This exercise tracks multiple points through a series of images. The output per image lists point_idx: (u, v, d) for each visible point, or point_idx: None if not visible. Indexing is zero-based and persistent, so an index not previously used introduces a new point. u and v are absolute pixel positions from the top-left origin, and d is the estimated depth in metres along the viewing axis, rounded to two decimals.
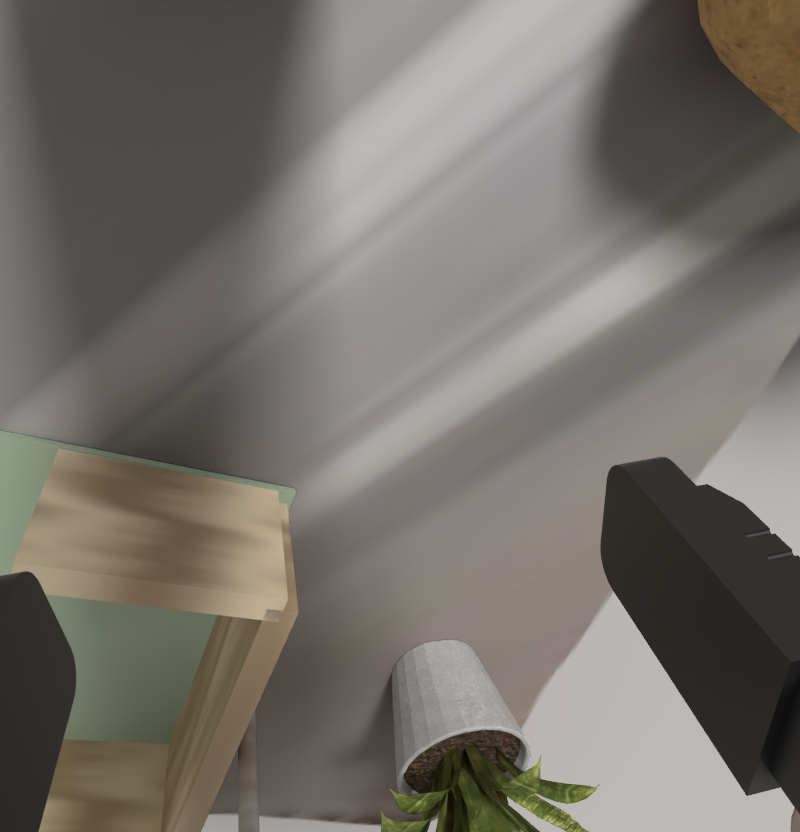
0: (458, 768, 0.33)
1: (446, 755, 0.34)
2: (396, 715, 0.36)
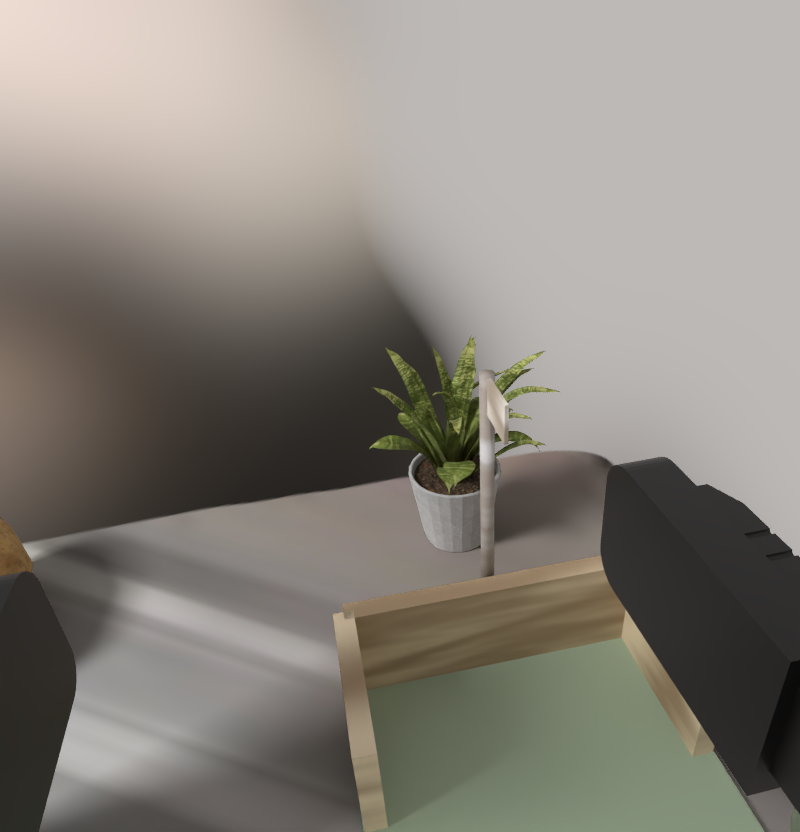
0: None
1: None
2: (469, 524, 0.50)
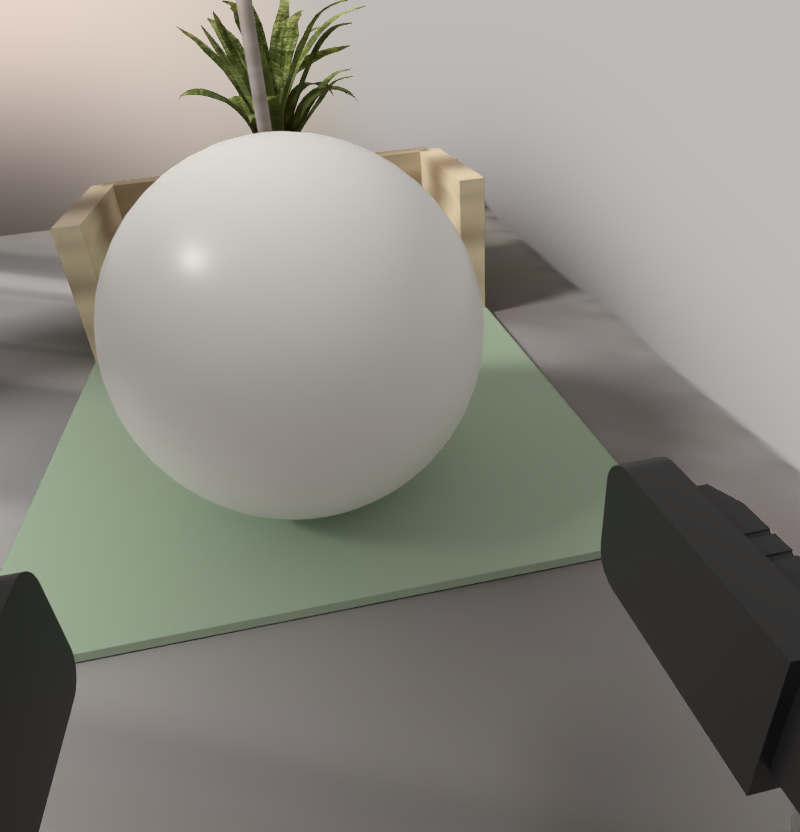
0: None
1: None
2: None
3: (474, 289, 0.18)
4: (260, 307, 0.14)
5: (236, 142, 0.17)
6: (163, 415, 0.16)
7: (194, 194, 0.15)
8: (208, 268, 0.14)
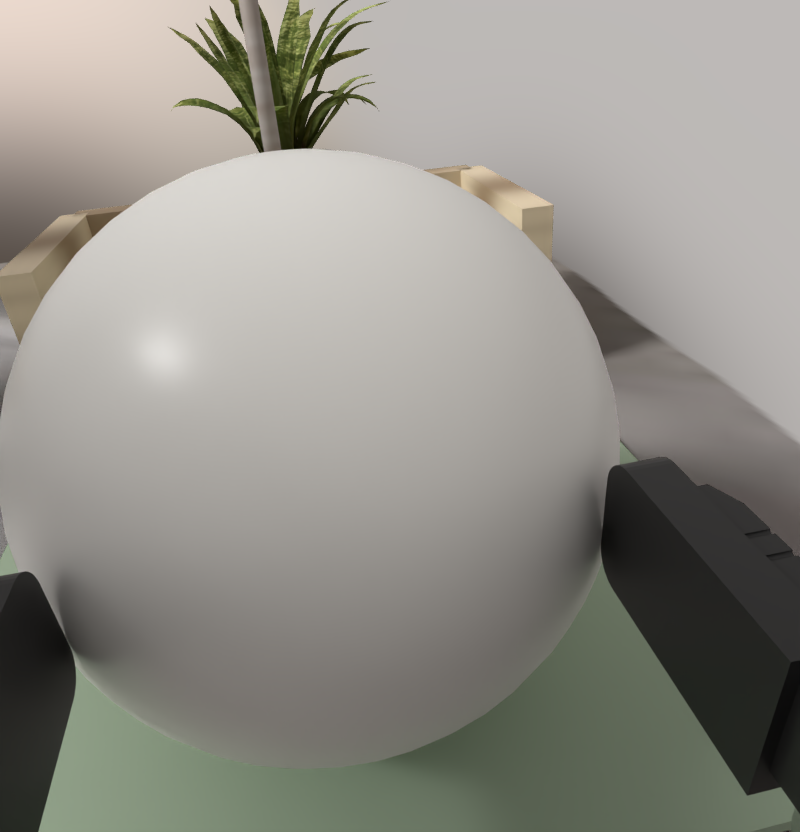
0: None
1: None
2: None
3: (613, 395, 0.11)
4: (270, 468, 0.08)
5: (229, 166, 0.10)
6: (96, 643, 0.09)
7: (153, 254, 0.09)
8: (173, 393, 0.08)
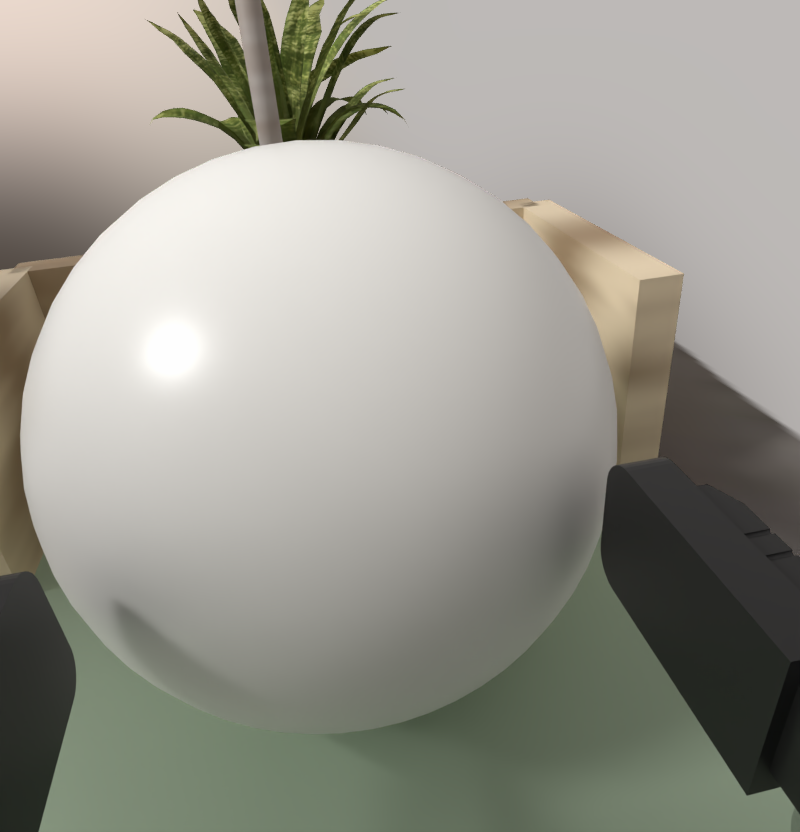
0: None
1: None
2: None
3: None
4: None
5: None
6: None
7: None
8: None
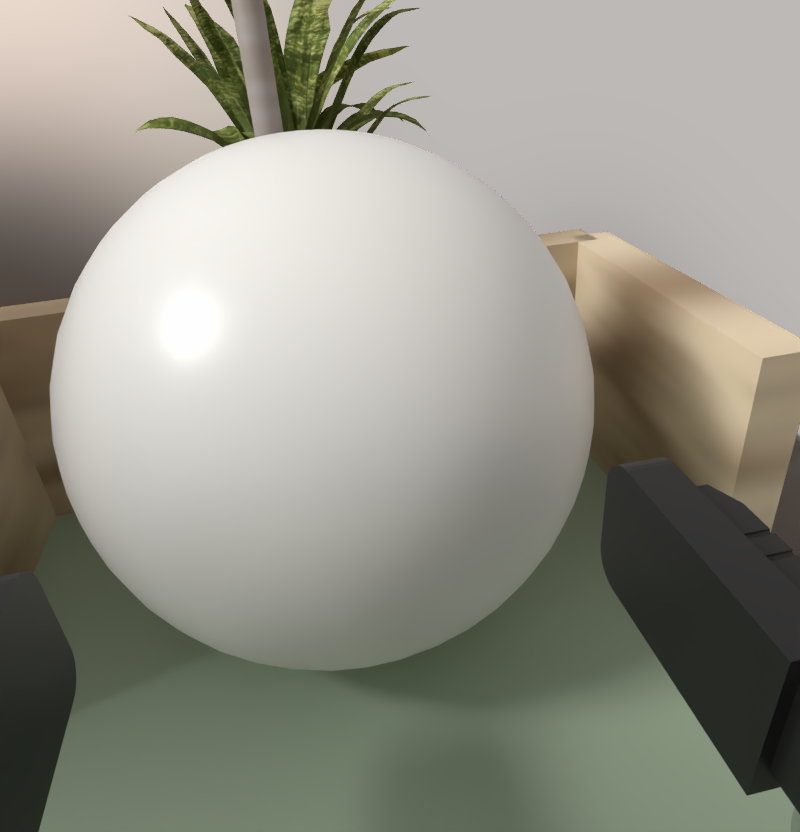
0: None
1: None
2: None
3: None
4: None
5: None
6: None
7: None
8: None
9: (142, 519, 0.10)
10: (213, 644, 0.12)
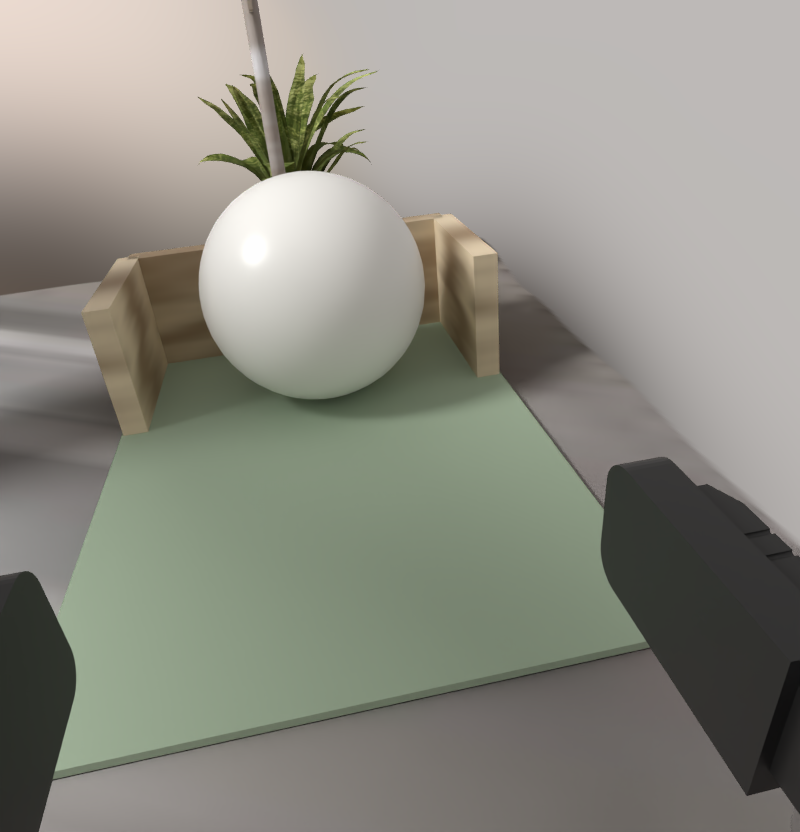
0: None
1: None
2: None
3: None
4: None
5: None
6: None
7: None
8: None
9: (246, 325, 0.29)
10: (264, 379, 0.31)
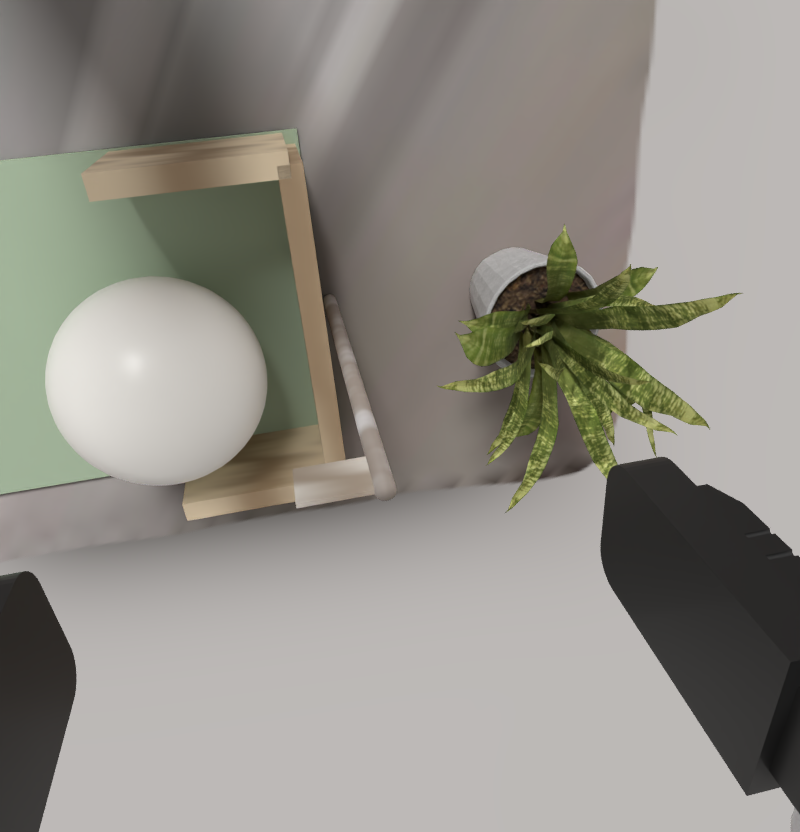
0: (529, 310, 0.36)
1: None
2: (476, 314, 0.40)
3: None
4: (261, 370, 0.35)
5: None
6: (212, 348, 0.32)
7: None
8: (256, 343, 0.35)
9: None
10: None
